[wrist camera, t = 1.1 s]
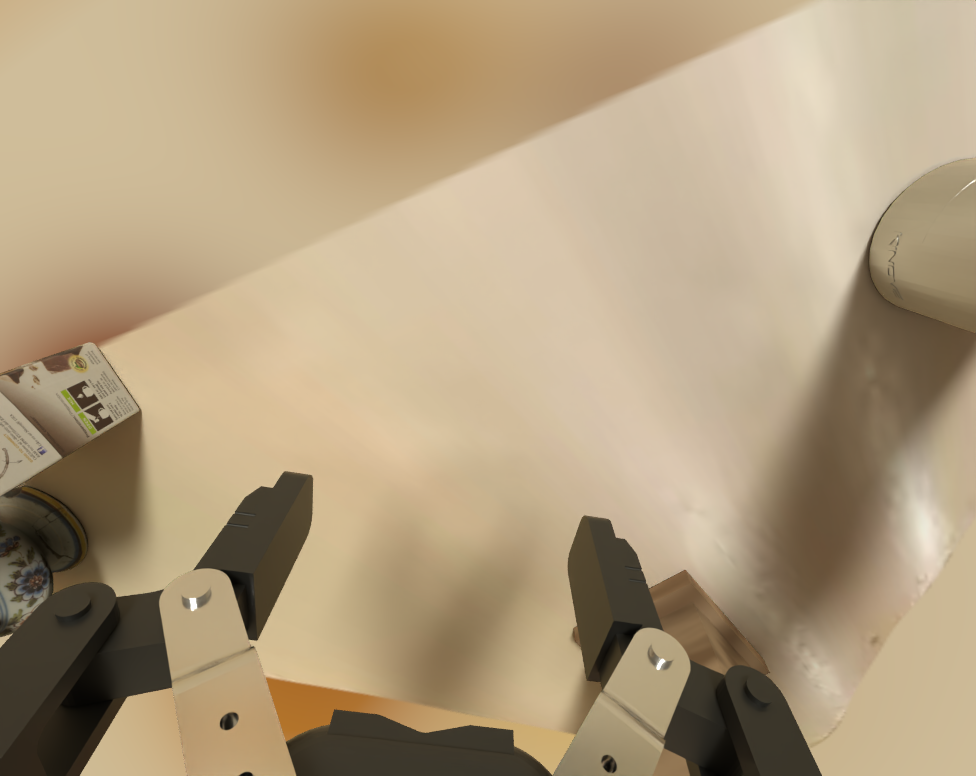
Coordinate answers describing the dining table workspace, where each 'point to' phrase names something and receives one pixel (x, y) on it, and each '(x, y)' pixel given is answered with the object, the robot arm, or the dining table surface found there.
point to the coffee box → (56, 410)
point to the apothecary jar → (33, 551)
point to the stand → (697, 640)
